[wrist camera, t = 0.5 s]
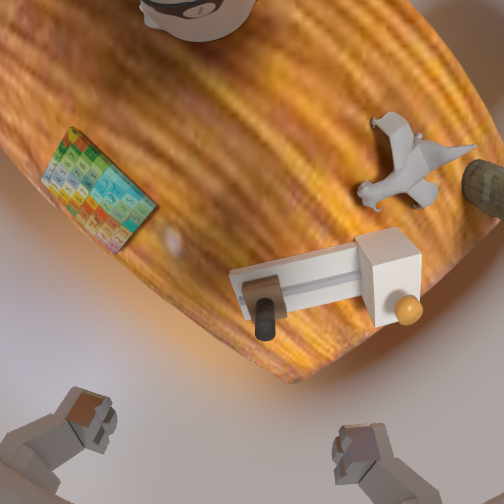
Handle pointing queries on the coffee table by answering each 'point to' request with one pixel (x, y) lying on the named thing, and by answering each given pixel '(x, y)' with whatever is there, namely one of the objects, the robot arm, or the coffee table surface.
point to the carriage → (264, 305)
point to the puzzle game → (96, 191)
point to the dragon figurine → (408, 164)
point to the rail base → (344, 274)
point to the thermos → (485, 187)
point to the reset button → (408, 309)
